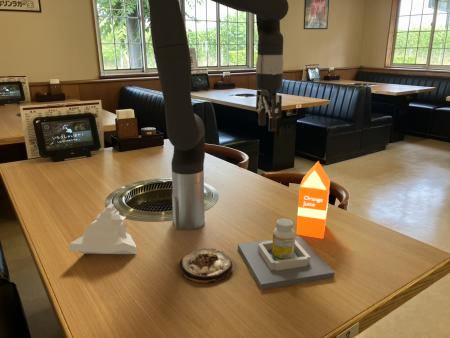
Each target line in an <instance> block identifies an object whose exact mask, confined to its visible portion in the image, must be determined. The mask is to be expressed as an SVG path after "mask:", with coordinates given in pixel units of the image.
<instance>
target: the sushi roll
mask: <svg viewBox="0 0 450 338" xmlns="http://www.w3.org/2000/svg"><path fill="white" fill-rule="evenodd" d="M232 262H233V261H232V260H231V259H230V256H229V255H228V254H226V252H224V251H223V250H222V251H220V250H217V248H201V249H196V250H193V251H192V252H191V251H190V252H188V253H187V254H185V255H183V257H182V258H181V260H180V262H179V265H180V266H179V267H180V269H181V273H182V276H183V277H184V278H186V280H187V281H190V282H193V283H198V284H204V283H208V284H210V283H216V284H217V282H218V281H220V280H222V279H226V280H227V281H228V280H229V279H228V277H229V276H230V275H231V273H232V270H233V263H232Z"/></svg>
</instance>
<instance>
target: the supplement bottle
mask: <svg viewBox="0 0 450 338" xmlns="http://www.w3.org/2000/svg"><path fill="white" fill-rule="evenodd" d="M275 224H276V227H275V228H273V232H272V239H273V245H272V256H273V258H274V259H275V260H277V261H278V260H285V259H291V258H293V257H294V245H295V236H296V231H295V230H294V222H293V220H291V219H289V218H283V217H282V218H278V219H277V220H276V222H275Z"/></svg>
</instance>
